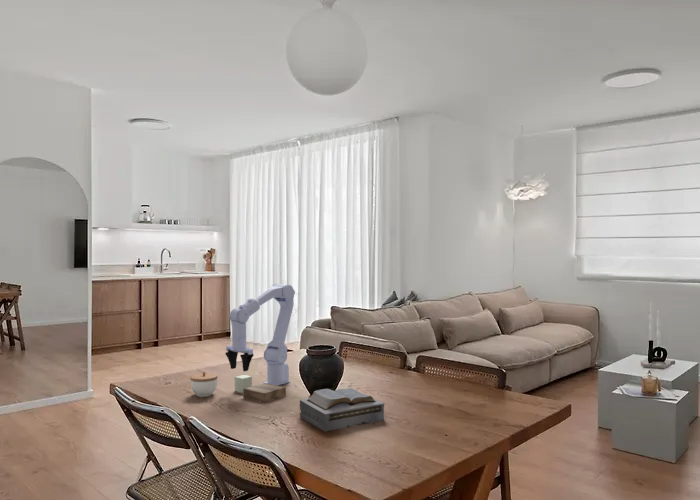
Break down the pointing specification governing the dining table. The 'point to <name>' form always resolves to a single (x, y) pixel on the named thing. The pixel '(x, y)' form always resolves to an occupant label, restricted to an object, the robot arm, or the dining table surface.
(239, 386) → the sage block
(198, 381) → the lidded jar
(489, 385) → the dining table surface
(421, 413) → the dining table surface
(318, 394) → the bible
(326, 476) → the dining table surface
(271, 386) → the walnut box
